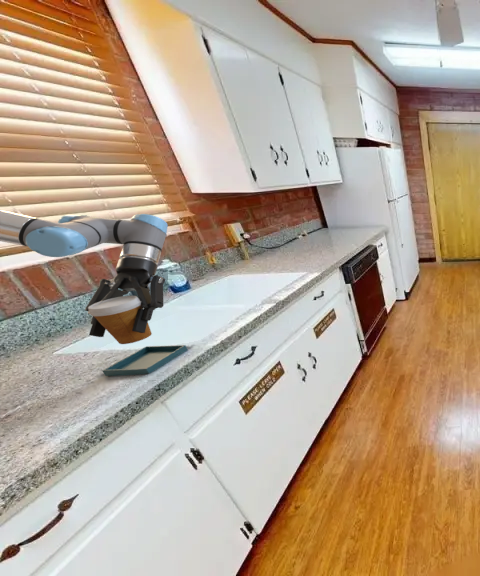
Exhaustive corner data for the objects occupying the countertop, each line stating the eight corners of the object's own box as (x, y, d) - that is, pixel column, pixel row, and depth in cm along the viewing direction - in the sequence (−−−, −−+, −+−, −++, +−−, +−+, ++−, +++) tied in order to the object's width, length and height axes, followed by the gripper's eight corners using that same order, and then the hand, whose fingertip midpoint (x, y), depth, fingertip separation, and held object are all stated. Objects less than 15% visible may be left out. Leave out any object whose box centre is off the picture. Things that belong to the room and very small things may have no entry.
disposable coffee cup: (125, 333, 89) (102, 298, 84) (167, 327, 92) (147, 292, 87) (100, 351, 81) (73, 312, 76) (147, 343, 84) (125, 306, 79)
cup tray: (105, 376, 84) (101, 370, 83) (149, 351, 95) (146, 346, 94) (149, 374, 85) (146, 369, 84) (188, 350, 96) (185, 345, 95)
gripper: (191, 264, 95) (176, 332, 88) (107, 269, 91) (83, 341, 83) (170, 253, 88) (152, 326, 81) (79, 258, 84) (50, 335, 76)
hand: (117, 333), depth 82 cm, fingers closed on disposable coffee cup, 9 cm apart
